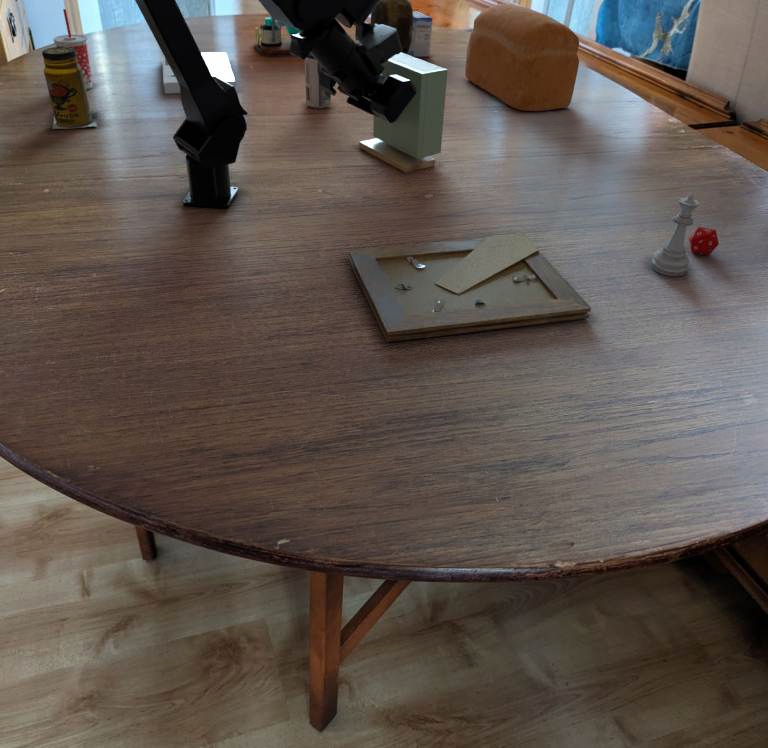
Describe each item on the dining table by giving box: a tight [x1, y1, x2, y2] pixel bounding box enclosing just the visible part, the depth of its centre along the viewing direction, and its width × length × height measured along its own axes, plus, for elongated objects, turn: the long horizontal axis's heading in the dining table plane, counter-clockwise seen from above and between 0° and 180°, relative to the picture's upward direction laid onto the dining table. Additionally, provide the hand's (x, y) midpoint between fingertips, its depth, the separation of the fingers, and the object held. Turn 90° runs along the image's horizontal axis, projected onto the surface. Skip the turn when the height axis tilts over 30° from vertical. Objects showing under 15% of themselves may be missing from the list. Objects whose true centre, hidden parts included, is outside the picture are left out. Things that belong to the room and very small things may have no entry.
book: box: [161, 51, 237, 95], centre depth 152 cm, size 23×14×2 cm, turn 14°
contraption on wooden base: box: [253, 15, 301, 58], centre depth 171 cm, size 14×18×15 cm
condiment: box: [41, 46, 98, 130], centre depth 124 cm, size 7×8×12 cm
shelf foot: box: [358, 137, 436, 174], centre depth 120 cm, size 6×13×1 cm, turn 36°
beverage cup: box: [53, 8, 94, 90], centre depth 140 cm, size 6×6×14 cm
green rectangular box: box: [372, 52, 448, 159], centre depth 116 cm, size 5×12×13 cm, turn 36°
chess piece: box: [650, 193, 700, 277], centre depth 90 cm, size 4×4×10 cm
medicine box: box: [407, 10, 433, 58], centre depth 174 cm, size 8×4×9 cm, turn 25°
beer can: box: [304, 53, 332, 110], centre depth 137 cm, size 5×5×12 cm
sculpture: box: [369, 0, 414, 55], centre depth 159 cm, size 13×8×20 cm, turn 15°
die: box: [688, 226, 720, 256], centre depth 96 cm, size 4×3×4 cm
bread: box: [464, 3, 580, 112], centre depth 148 cm, size 14×26×16 cm, turn 20°
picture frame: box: [348, 232, 592, 343], centre depth 86 cm, size 19×2×24 cm
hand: (393, 119), depth 116 cm, fingers closed
